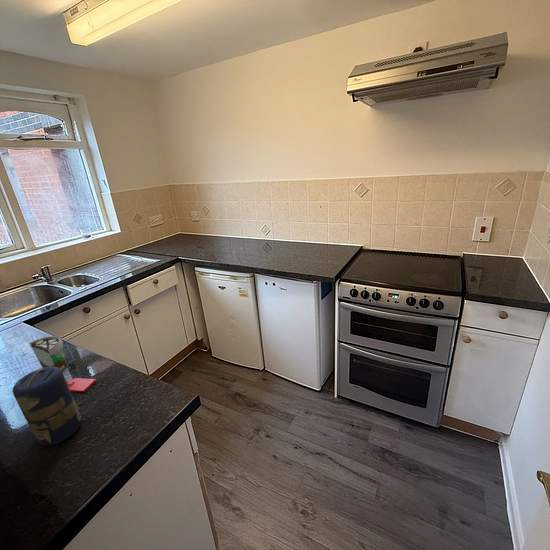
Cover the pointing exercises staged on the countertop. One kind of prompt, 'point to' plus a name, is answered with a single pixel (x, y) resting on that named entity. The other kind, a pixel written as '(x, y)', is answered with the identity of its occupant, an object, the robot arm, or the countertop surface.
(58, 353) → the food container
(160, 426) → the countertop surface
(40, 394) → the canister
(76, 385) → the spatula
